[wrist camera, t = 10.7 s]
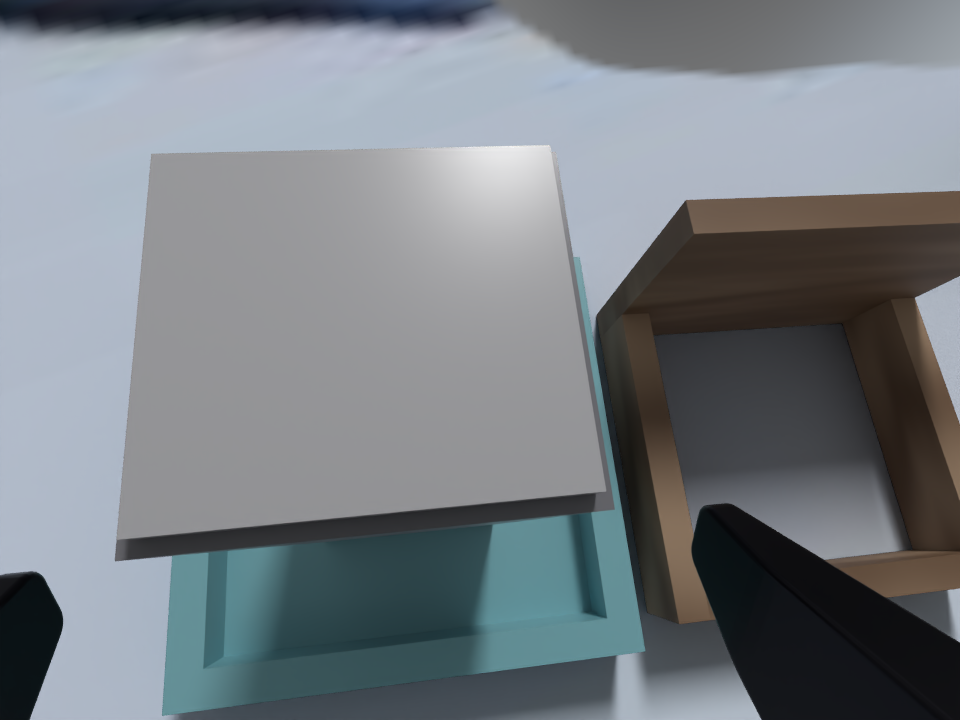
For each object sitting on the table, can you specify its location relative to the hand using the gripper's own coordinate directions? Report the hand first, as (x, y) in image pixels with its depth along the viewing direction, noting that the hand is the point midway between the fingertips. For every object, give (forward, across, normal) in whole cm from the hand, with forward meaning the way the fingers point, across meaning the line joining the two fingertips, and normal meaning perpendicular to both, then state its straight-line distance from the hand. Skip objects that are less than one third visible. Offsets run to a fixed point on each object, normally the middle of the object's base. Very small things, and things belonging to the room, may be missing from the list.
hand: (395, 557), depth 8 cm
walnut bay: (+10, -14, +6) cm, 18 cm away
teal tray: (+10, 0, +6) cm, 12 cm away
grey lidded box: (+10, 0, +6) cm, 11 cm away
